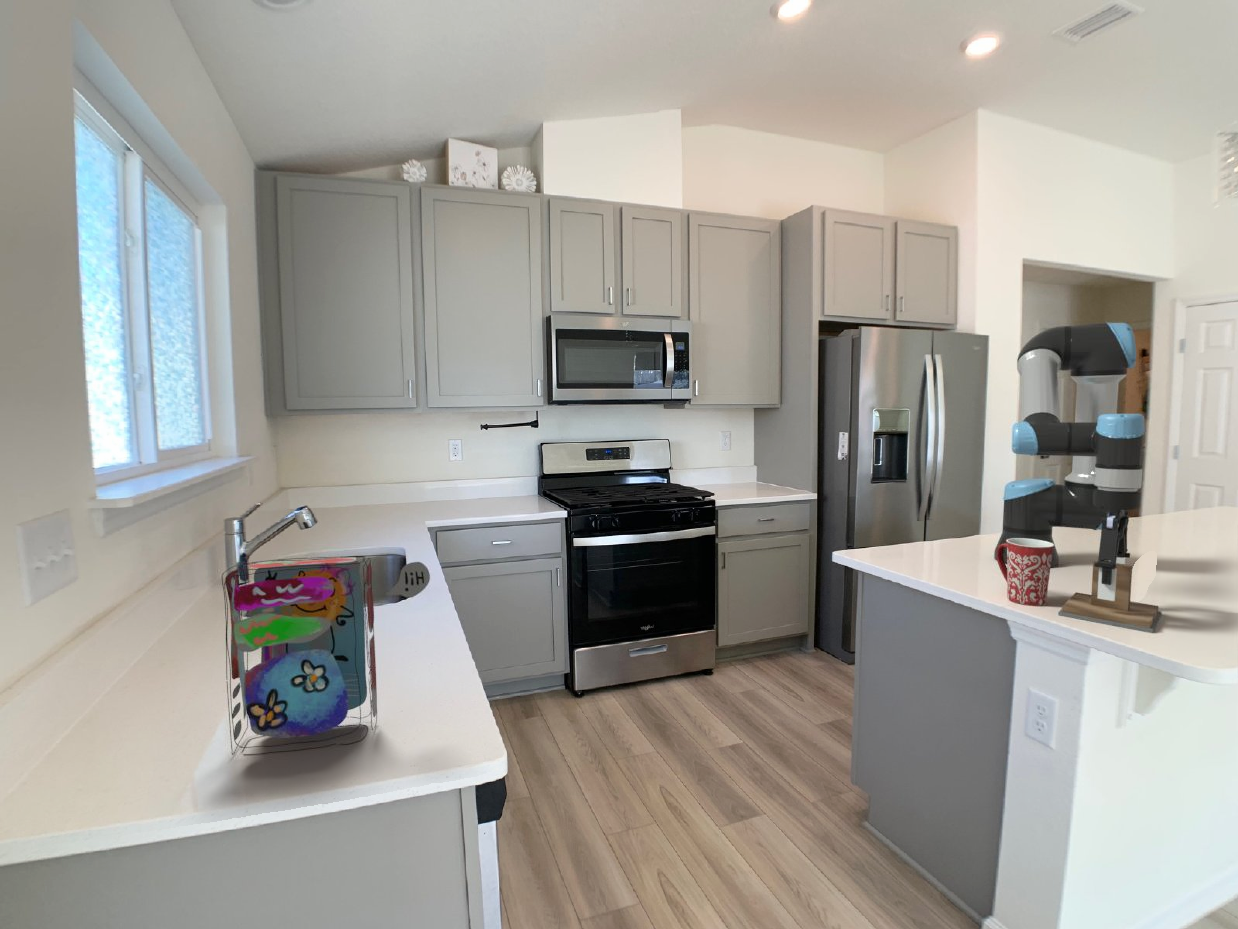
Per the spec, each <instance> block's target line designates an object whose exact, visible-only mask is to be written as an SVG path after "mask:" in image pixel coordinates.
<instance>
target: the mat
mask: <svg viewBox="0 0 1238 929" xmlns="http://www.w3.org/2000/svg"><path fill="white" fill-rule="evenodd" d="M1162 612H1163V611H1160V610H1158V613H1157V615H1156V617H1155V619H1154V621H1153V623H1152V626H1151V628H1150V629H1149V628H1144V627H1138V626H1133V625H1127V624H1122V623H1117V622H1111V621H1106V620H1101V619H1095V618H1090V617H1085V616H1079V615H1074V614H1069V613H1063V612H1062V608H1061V609H1060V610H1059V611H1058V612H1057V613H1058V616H1061V617H1067V618H1072V619H1078V620H1082V621H1087V622H1094V623H1098V624H1104V625H1109V626H1113V627H1117V628H1118V627H1120V628H1125V629H1130V630H1135V631H1141V632H1144V633H1151V634H1153V633H1155V632H1154V631H1155V629H1156V627H1157V625H1158V623H1159V620H1160V618H1161V617H1162Z"/></svg>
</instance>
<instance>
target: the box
mask: <svg viewBox="0 0 1238 929" xmlns="http://www.w3.org/2000/svg"><path fill="white" fill-rule="evenodd" d="M357 558H358V559H361V558H363V559H362V561H359V560H357ZM366 559H367V560H366ZM365 560H366V561H365ZM368 560H369V561H371V558H370V557H368V558H366V557H365V556H363V555H352V556H349V555H348V556H344V557H337V556H328V557H327V556H323V557H319V556H318V557H316V558H312V559H307V557H300V558H299V557H295V558H292V559H288V558H283V559H282V558H281V559H276V560H275V559H270V560H269V559H268V560H267V561H266V560H261V561H258V562H257V561H252V562H251V561H250V562H246V563H245V564H242V565H238V564H236V565H233V566H231V567H229V568H228V569H226V570H225V571H224V572H222V574H221V585H222V589H223V590H222V591H223V597H224V600H225V601H224V614H225V615H224V616H225V617H226V619H225V653H226V655H225V657H226V658H225V659H226V661H225V664H226V665H225V667H226V671H225V672H226V679H228V664H229V665H230V666H229V683H228V682H226V690H227V691H226V692H227V695H229V693H230V697H232V699H234V700H235V699H236V698H237V696H238V695H239V692H240V691H241V698H242V706H243V710H242V711H243V720H245V719H246V723H247V724H246V725H247V726H246V729H245V731H244V733H243V734H242V736H241V738H240V739H239V741H238V743H237V742H236V740H237V739H238V738H239V736H240V734H241V731H242V725H243V724H242V720H241V718H240V719H239V720H238V721H237V722H236V723H235V726H234V725H232V728H231V725H229V733H230V738H232V734H233V740H234V743H235V744H236V747H235V750H234V751H233V752H232V753H231V755H232V756H234V754H236V751H237V750H238V747H239V748H241V749H242V750H241V752H240V754H242V755H243V756H256V755H257V756H258V755H259V753H246V754H245V753H243V752H244V751H245V749H251V748H258V747H263V748H265V747H266V748H268V747H269V748H271V747H273V745H254V746H248V747H247V745H248V743H249V741H251V740H253V739H257V738H262V737H270V738H271V737H272V738H279V739H284V738H285V739H287V738H298V737H299V738H301V737H309V736H310V737H311V736H313V735H317V734H320V733H324V732H327V731H330V730H333V729H335V728H338V727H339V728H340V727H341V728H342V727H343V725H341V724H342V723H344V720H345V719H346V718H347V717H348V716H347V715H348V713H349V711H350V710H354V709H356V708H358V707H361V706H362V705H363V704H364V703H365V702H366V701H367V700H366V699H367V697H368V690H369V691H370V693H369V700H370V701H369V703H370V712H369V714H368V715H366V716H363V717H362V710H361V708H359V712H360V713H359V715H360V716H359V717H356V716H351V718H352V719H353V718H355V719H359V723H358V724H357V727H356V728H355V729H354V730H352V731H350V732H348V733H345V734H341V735H338V736H333V737H331V738H327V739H323V740H320V742H323V741H329V740H332V739H335V738H339V737H343V736H346V735H348V734H349V735H350V734H352V733H353V732H355V731H356V730H357V729H358V728H359V727H360V726H364V727H366V734H365V735H364V737H363V738H362V739H360V740H357V741H355V742H350V743H341V746H342V745H343V746H344V745H347V746H348V745H353V744H356V743H359V742H361V741H363V740H364V739H365V737H367V735H368V734H367V733H368V732H369V731H368V729H369V727H368V725H366V724H361V721H362V719H364V718H367V717H369V716H370V725H371V730H372V731H374V730H375V729H376V726H377V722H378V695H377V694H378V692H377V690H378V689H377V688H378V687H377V669H376V668H377V664H376V650H375V649H376V644H375V641H376V640H375V630H374V629H375V628H374V627H375V626H374V623H375V608H374V597H373V589H372V588H373V587H372V578H373V577H372V576H373V570H372V565H371V562H369V563H367V562H368ZM361 563H364V565H363V566H362V574H363V576H365V580H364V582H363V589H362V583H361V575H360V571H361V570H360V569H361ZM245 565H248V567H249V569H246V571H254V572H253V573H249V574H248V573H247V574H245V570H244V566H245ZM365 566H366V573H365V569H364V568H365ZM235 567H237V568H236V569H234V570H232V571H230V572H229V573H228V574H227V575H226V577H225V579H224V578H223V575H224V574H225V573H226V572H228V571H229V570H230V569H233V568H235ZM239 569H241V570H242V573H243V574H240V572H239ZM250 575H253V582H252V583H248V584H247V583H246V576H250ZM241 576H243V578H244V579H243V580H244V583H245V584H244V585H241V586H240V577H241ZM398 578H399V579H398V582H397V583H396V584H395V585H394V586H393V587H392V588H391V589H390V590H388V591H387V592H384V594H385V595H386V596H388V597H392V596H393V597H394V596H398V595H399V596H402V597H404V598H409V599H410V598H414V597H415V596H417V595H419V594H420V593H421V592H423V591H424V590H425V589H426V587H427V586H428V585H429V583H430V580H431V573H430V572H429V569H428V567H427V566H426V565H425V564H424V563H423V562H421V561H414V562H413V561H412V562H409V563H407V564H405V565H404V566H403V567H402V569H401V570H400V574H399V577H398ZM223 580H225V581H223ZM366 585H367V586H368V589H367V591H365V588H366ZM369 586H370V587H369ZM365 596H366V597H365ZM228 601H229V604H228ZM366 603H367V604H366ZM366 605H367V606H366ZM228 606H229V607H228ZM256 608H257V613H258V614H255V615H254V614H253V615H252V616H248V617H247V618H244V619H243V612H249V611H252V610H254V609H256ZM229 610H230V611H229ZM229 612H230V626H231V629H230V630H231V632H230V633H231V634H230V651H229V646H228V645H229V644H228V628H229V627H228V623H229V615H228V614H229ZM367 628H368V632H369V633H370V634H371V633H372V636H371V638H368V636H369V635H368V634H369V633H366V631H367ZM259 649H261V650H260V652H261V655H260V656H261V660H260V663H258V664H256V665H254V666H253V667H251V668H249V666H248V664H249V662H248V661H249V653H251V652H255V651H257V650H259ZM366 649H369V650H367V651H366ZM229 652H230V653H229ZM244 652H245V653H246V667H245V656H244V655H245V654H244ZM366 657H367V660H366ZM366 661H367V663H368V664H367V667H368V668H369V672H368V675H369V681H368V684H367V675H366V674H367V673H366V668H367V667H366ZM236 679H239V681H240V682H239V683H238V684H237V685H236V686H235V688H233V691H232V688H231V686H232V683H231V682H232V681H231V680H236ZM367 685H368V686H369V688H368V686H367ZM228 686H229V687H228ZM232 702H233V701H229V697H227V705H228V706H227V708H228V709H230V711H228V719H229V724H234V719H235V718H236V717H237V715H238V713H239V712H240V710H241V701H240V702H238V703H237V704H236V705H235V706H234V707H233V706H232ZM230 712H231V713H230ZM373 718H376V720H375V725H374V728H373V720H372V719H373ZM231 722H232V723H231ZM249 723H250V729H251V731H252V733H254V734H256V735H257V736H256V737H252V738H250V739H249V740H248V741H246V743H245V744H244V746H241V745H240V742H241V741H242V739H243V737H244V735H246V731H247V730H248V728H249ZM350 726H351V727H353V726H356V724H351V725H349V724H348V725H346V727H350ZM232 732H233V733H232ZM315 742H319V740H313V741H312V740H311V741H310V743H315ZM304 743H307V744H308V743H309V741H299V742H296V744H304ZM293 744H295V742H290V743H284V744H277V745H274V747H279V746H280V747H281V746H287V745H293ZM334 745H335V743H332V744H327V745H324V746H318V747H316V749H321V748H326V747H330V746H334ZM230 747H231V750H233V742H232V739H230ZM312 749H315V747H310V748H309V747H308V748H301V749H293V750H291V752H297V751H298V752H299V751H304V750H312ZM283 752H284V753H285V752H287V753H288V752H289V750H279V751H278V750H277V751H276V753H283ZM270 753H271V754H272V753H274V751H269V752H264V753H263V752H261V753H260V755H264V754H270Z"/></svg>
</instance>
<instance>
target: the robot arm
mask: <svg viewBox="0 0 1238 929" xmlns="http://www.w3.org/2000/svg"><path fill="white" fill-rule="evenodd" d="M1016 360H1017V361H1016V370H1017V372H1018V374H1019V375H1020V376H1021V421H1020V422H1015V423H1013V425H1012V429H1011V430H1012V431H1011V432H1012V433H1011V451H1012V453H1013V454H1016V455H1028V456H1032V457H1033V456H1034V457H1035V456H1055V457H1056V456H1060V457H1061V456H1065V457H1066V456H1067V457H1069V456H1070V457H1072V468H1071V472H1070V473H1069V474H1067V475H1066V476H1065V477H1064V483H1063V484H1056V481H1055V479H1054V478H1027V479H1025V478H1024V479H1018V480H1012V481H1010V482H1007V483H1006V484H1005V485H1004V491H1003V497H1002V500H1003V512H1002V531H1001V534H1000V536H999V540H998V542H997V544H996V546H995V548H994V556H993V558H994V559H995V560H996V561H997V549H998V547H999V545H1001V544H1005V543H1007V542H1006V540H1007V539H1011V538H1027V539H1036V540H1042V541H1047V542H1050V543H1053V544H1054V548H1053V552H1052V560H1051V567H1050V568H1055V567H1057V566H1059V560H1060V557H1059V554H1058V551H1057V548H1056V545H1055V542H1054V539H1053V538H1054V537H1053V528H1054V527H1055V528H1056V527H1057V528H1071V529H1084V530H1085V529H1086V530H1093V531H1097V530H1100V534H1101V535H1100V541H1099V548H1098V551H1099V552H1098V556H1097V557H1098V558H1097V559H1098V560H1097V563H1095V567H1099V578H1098V596H1097V598H1098V599H1104V600H1110V601H1115V591H1116V574H1117V569H1116V563H1120V564H1126V559H1127V558H1128V559H1130V558H1131V552H1128V551H1129V550H1128V525H1129V523H1130V522H1129V521H1130V519H1129V517H1128V516H1129V512H1128V511H1135V510H1138V509H1140V507H1141V495H1142V493H1141V492H1140V490H1139V489H1141V488H1142V486H1143V485H1142V484H1143V483H1142V481H1143V456H1144V455H1143V453H1144V443H1145V440H1144V439H1145V433H1146V426H1145V425H1146V424H1145V417H1144V415H1143V414H1140V413H1117V411H1118V410H1117V409H1118V397H1119V396H1118V395H1119V383H1120V382H1121V381H1122V380H1123V379H1124V378H1126V377H1127V375H1128V374H1127V373H1128V369H1132V368H1135V367H1136V364H1137V346H1136V338H1135V334H1134V331H1133V329H1132V326H1131V325H1130V324H1128V323H1126V322H1105V323H1101V322H1100V323H1091V324H1090V323H1089V324H1079V325H1078V324H1077V325H1065V326H1064V325H1061V326H1060V325H1059V326H1054V327H1051V328H1050V327H1049V328H1048V329H1045V330H1043V331H1041V332H1039V333H1037V334H1036V335H1034V336H1033V337H1032V338H1031V339H1030V340H1028V341H1027V343H1025V344H1024V346H1023V347H1022V348H1021V349H1020V351H1019V354H1018V356H1017V359H1016ZM1059 371H1063V372H1064V371H1070V373H1069V374H1070V378H1071V379H1072V380H1073V381H1074V382H1075V383H1076V396H1075V411H1074V412H1075V414H1074V416H1075V417H1074V422H1068V421H1067V422H1064V421H1063V422H1062V421H1061V413H1060V412H1061V411H1060V397H1059V396H1060V395H1059V381H1058V380H1059V378H1058V373H1059ZM1003 556H1004V561H1005V564H1007V547H1006V548H1005V549H1004V553H1003Z"/></svg>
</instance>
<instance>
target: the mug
mask: <svg viewBox="0 0 1238 929" xmlns="http://www.w3.org/2000/svg"><path fill="white" fill-rule="evenodd" d="M1006 542H1007V543H1005V544H1001V545H999V547H998V549H997V560H996V562H997V564H998V567H999V569H1000V572H1001V574H1002V576H1003V578H1004V579H1005V580H1004V581H1005V582H1006V583H1007V584H1006V585H1007V586H1006V587H1007V589H1006V590H1007V591H1006V592H1007V593H1006V594H1007V595H1006V596H1007V599H1008V601H1010V602H1013V603H1015V604H1020V605H1024V606H1025V605H1026V606H1032V607H1033V606H1034V607H1037V606H1038V607H1040V606H1045V605H1047V601H1048V600H1047V598H1048V589H1049V583H1050V582H1049V581H1050V573H1051V568H1052V567H1051V560H1052V552H1053V548H1054V544H1055V543H1054V544H1053V543H1050V542H1047V541H1042V540H1036V539H1027V538H1011V539H1007V540H1006ZM1006 547H1007V563H1005V561H1004V556H1003V553H1004V549H1005V548H1006Z"/></svg>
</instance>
